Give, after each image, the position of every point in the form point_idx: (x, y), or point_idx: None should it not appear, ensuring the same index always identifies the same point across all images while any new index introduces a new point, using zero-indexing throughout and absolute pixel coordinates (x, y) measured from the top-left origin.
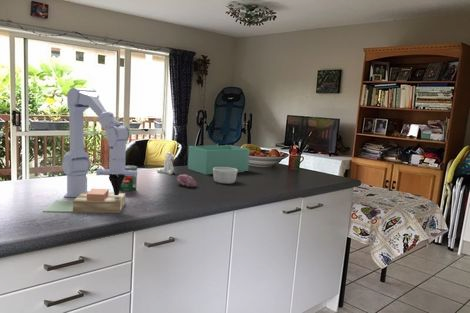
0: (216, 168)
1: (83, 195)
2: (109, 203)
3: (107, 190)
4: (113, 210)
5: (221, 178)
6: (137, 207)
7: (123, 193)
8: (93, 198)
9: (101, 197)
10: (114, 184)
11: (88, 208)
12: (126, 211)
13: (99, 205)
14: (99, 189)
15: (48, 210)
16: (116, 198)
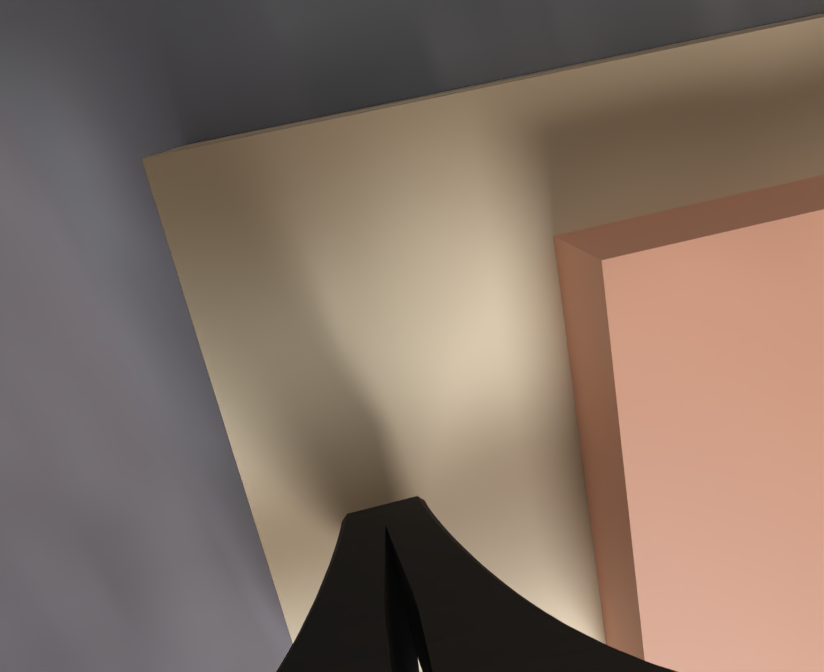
0: None
1: None
2: (377, 109)
3: (641, 641)
4: (291, 123)
5: None
6: (54, 539)
7: None
8: (774, 190)
9: (625, 234)
10: (464, 638)
11: (728, 33)
12: (116, 269)
13: (564, 69)
14: (814, 646)
15: None
16: (348, 425)
